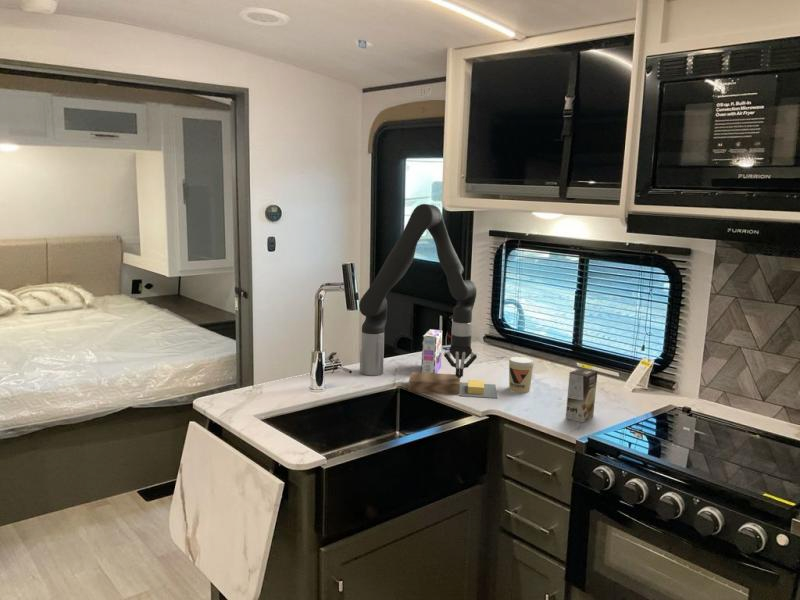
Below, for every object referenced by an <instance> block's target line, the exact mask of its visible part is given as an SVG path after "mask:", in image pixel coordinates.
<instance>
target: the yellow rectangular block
mask: <svg viewBox="0 0 800 600" xmlns="http://www.w3.org/2000/svg"><path fill="white" fill-rule="evenodd" d="M484 382H485V380H479V379H467V383H468V393H474V394H484V384H485V383H484Z"/></svg>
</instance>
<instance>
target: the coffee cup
mask: <svg viewBox="0 0 800 600" xmlns="http://www.w3.org/2000/svg"><path fill="white" fill-rule="evenodd" d="M534 364H535V363H534V360H533V359H532V358H530V357H525V356H513V357H510V358H509V359H508V365H509V366H508V369H509V371H508V373H509V374H508V377H509V378H508V384H509V387H508V388H509V390H510V391H511V392H512V393H516V394H526V393H530V390H531V384H532V378H533V371H534Z"/></svg>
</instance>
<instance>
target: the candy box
mask: <svg viewBox="0 0 800 600" xmlns="http://www.w3.org/2000/svg"><path fill="white" fill-rule="evenodd" d="M421 345H422V346H421V347H422V348H421V349H422V351H421V369H420V371H421V373H438V371H439V370H440V369H441V367H442V351H443V350H442V348H443V347H442V345H443V330H442V329H441V330H440V329H433V328H432V329H431V328H430V329H429V330H428V331H426V333H424V335H422V344H421Z"/></svg>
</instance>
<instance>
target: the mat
mask: <svg viewBox="0 0 800 600" xmlns="http://www.w3.org/2000/svg"><path fill="white" fill-rule="evenodd" d="M458 395H459V397H464V398H466V397H467V398H481V399H482V398H484V399H496V400H497V399H499V397H498V392H497V385H496V384H493V383H484V394H474V393H468V382H463V381H462V382H461V381H460V392H459V394H458Z"/></svg>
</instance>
